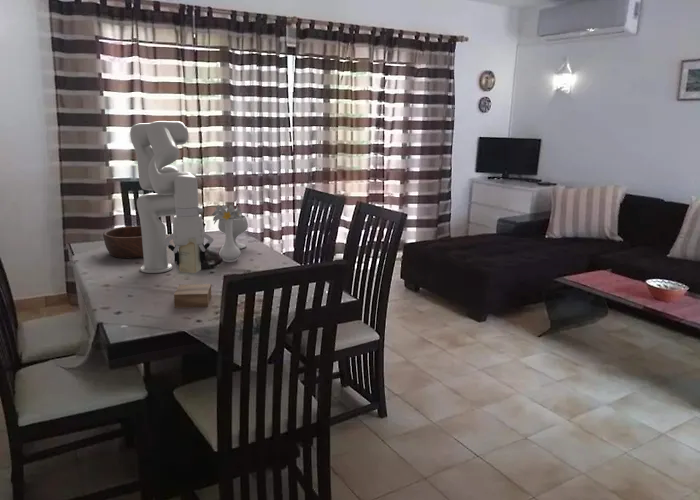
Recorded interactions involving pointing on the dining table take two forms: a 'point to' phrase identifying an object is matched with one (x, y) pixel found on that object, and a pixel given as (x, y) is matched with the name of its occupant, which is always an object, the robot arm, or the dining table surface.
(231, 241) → the flower vase
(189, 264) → the skincare box
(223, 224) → the chalice
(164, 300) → the dining table surface
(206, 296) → the light wood square block
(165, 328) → the dining table surface
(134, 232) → the wooden bowl
